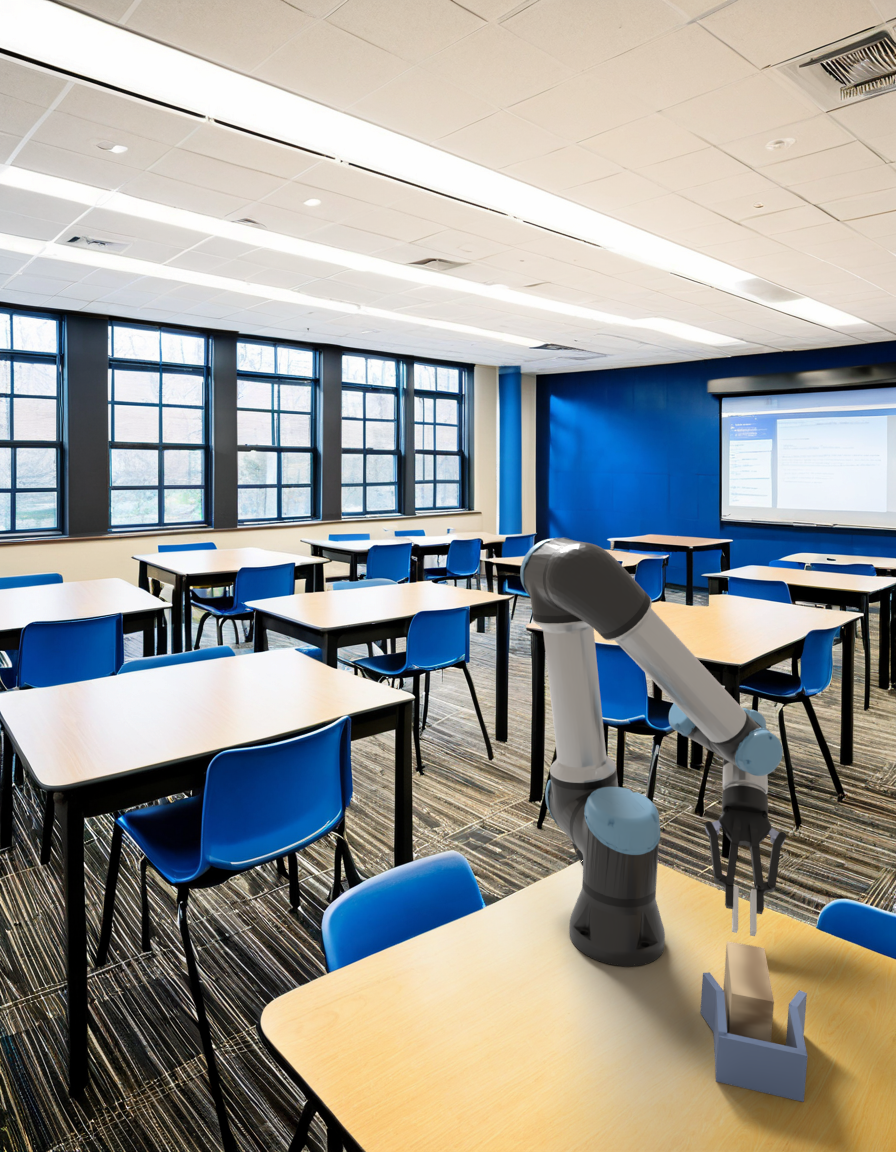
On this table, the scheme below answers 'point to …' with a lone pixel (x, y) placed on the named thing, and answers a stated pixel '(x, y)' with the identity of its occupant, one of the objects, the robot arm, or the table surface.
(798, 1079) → the blue u-shaped bracket
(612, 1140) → the table surface
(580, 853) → the fountain pen
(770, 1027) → the block
